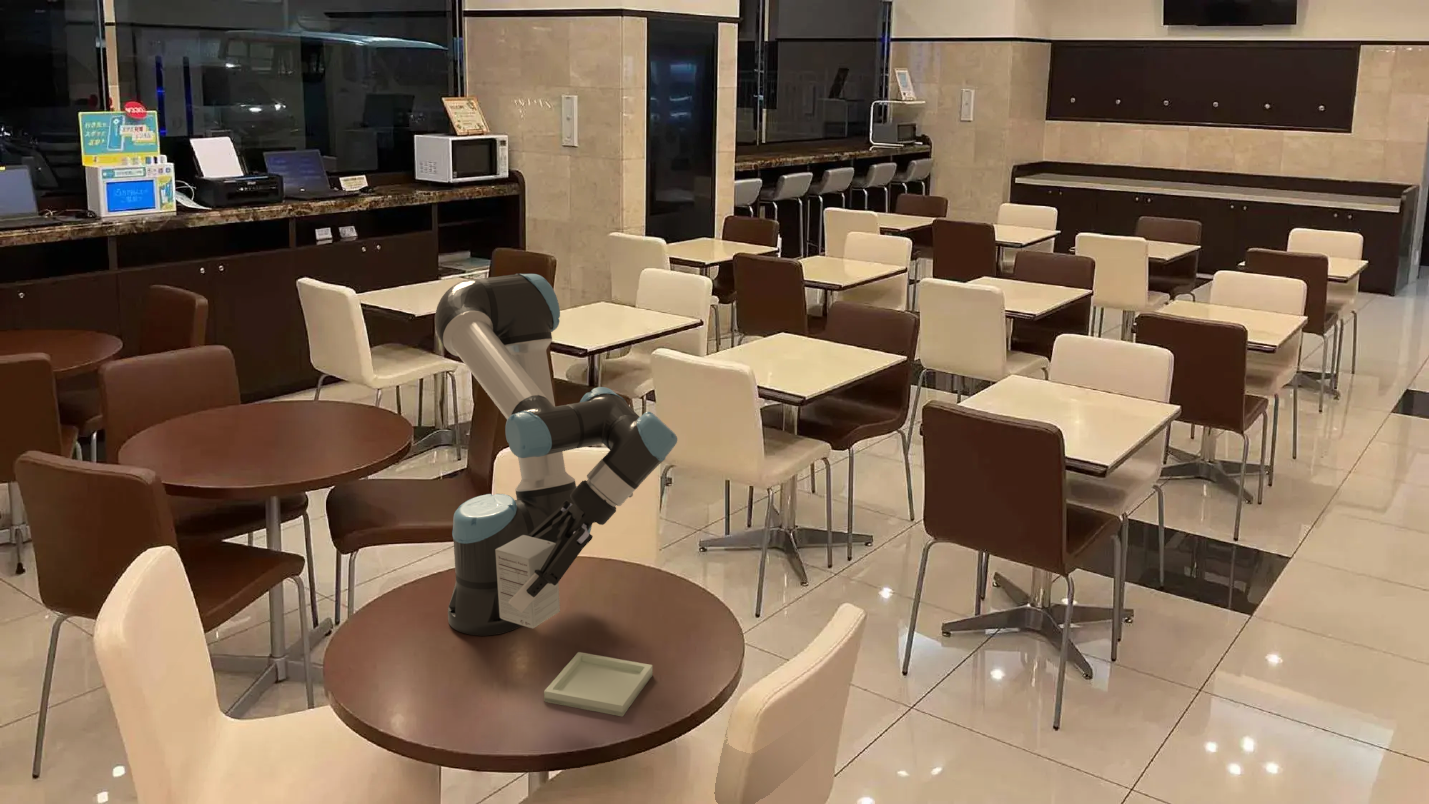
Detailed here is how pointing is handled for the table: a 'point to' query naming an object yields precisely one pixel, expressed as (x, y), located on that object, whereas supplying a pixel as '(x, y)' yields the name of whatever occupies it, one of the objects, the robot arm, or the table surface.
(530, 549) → the supplement box
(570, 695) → the tray
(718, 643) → the table surface
